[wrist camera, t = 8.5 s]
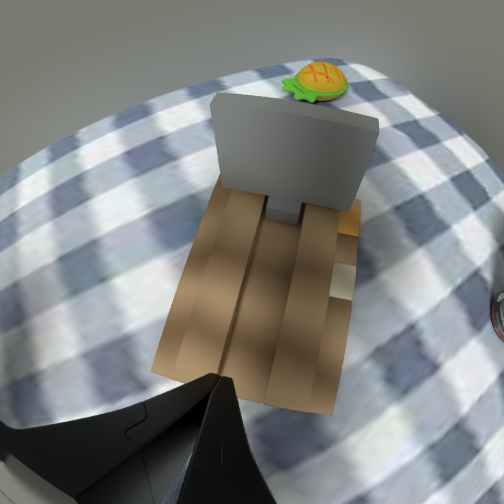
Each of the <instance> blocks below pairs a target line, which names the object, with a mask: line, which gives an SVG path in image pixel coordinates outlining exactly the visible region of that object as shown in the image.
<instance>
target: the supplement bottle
mask: <svg viewBox="0 0 504 504" xmlns="http://www.w3.org/2000/svg"><path fill="white" fill-rule="evenodd" d="M491 318H492V324H493V328H494V330H495V332H496V334H497V336H498V337H499V338H500V339H501V340H502V341H503V342H504V290H503V291H502V292H501V293H500V294H498V295H497V296H496V298H495V300H494V302H493V305H492V310H491Z"/></svg>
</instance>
